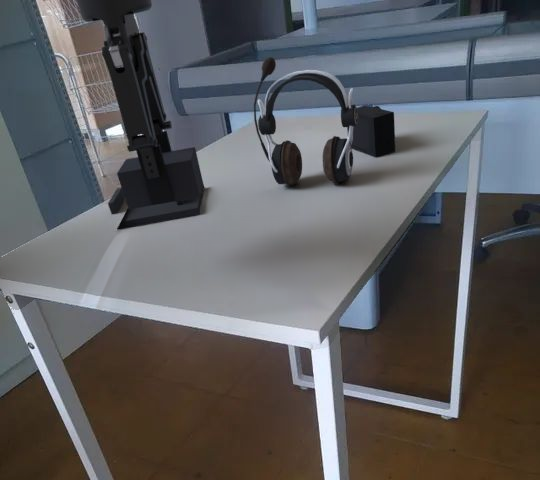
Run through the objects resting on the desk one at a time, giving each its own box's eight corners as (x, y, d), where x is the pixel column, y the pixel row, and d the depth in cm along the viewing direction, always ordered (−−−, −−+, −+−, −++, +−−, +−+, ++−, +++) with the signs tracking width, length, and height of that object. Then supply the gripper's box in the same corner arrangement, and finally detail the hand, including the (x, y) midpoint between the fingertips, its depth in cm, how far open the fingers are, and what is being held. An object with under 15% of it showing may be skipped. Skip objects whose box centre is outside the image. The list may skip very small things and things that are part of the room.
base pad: (95, 233, 92) (87, 212, 90) (112, 205, 104) (105, 186, 102) (199, 214, 91) (193, 193, 89) (204, 188, 103) (199, 168, 101)
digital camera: (401, 150, 101) (400, 109, 97) (376, 157, 100) (373, 117, 96) (372, 140, 109) (370, 103, 105) (348, 147, 108) (345, 110, 104)
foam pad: (128, 209, 67) (116, 173, 64) (136, 193, 72) (125, 159, 69) (200, 197, 66) (191, 160, 64) (203, 182, 71) (194, 146, 69)
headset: (258, 194, 94) (235, 66, 83) (272, 179, 100) (252, 56, 89) (356, 189, 88) (345, 49, 77) (365, 173, 94) (356, 41, 83)
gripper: (125, -38, 48) (189, 215, 61) (154, -35, 63) (200, 166, 77) (42, -22, 48) (123, 226, 61) (92, -22, 64) (148, 175, 77)
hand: (166, 192), depth 69 cm, fingers closed on foam pad, 6 cm apart
